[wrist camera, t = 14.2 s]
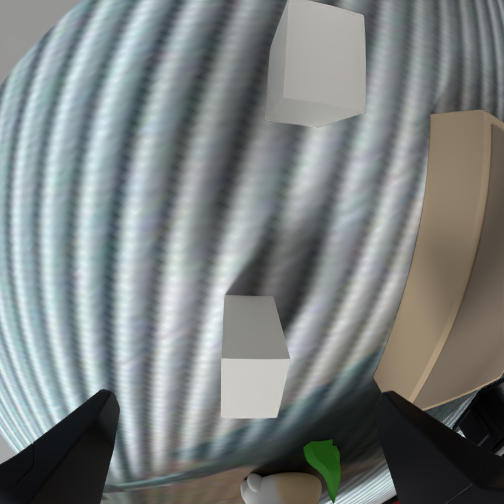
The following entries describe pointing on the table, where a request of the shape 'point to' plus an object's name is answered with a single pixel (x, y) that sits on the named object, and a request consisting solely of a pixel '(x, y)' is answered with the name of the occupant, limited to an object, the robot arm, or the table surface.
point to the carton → (453, 269)
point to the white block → (316, 65)
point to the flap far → (252, 358)
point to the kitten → (297, 479)
